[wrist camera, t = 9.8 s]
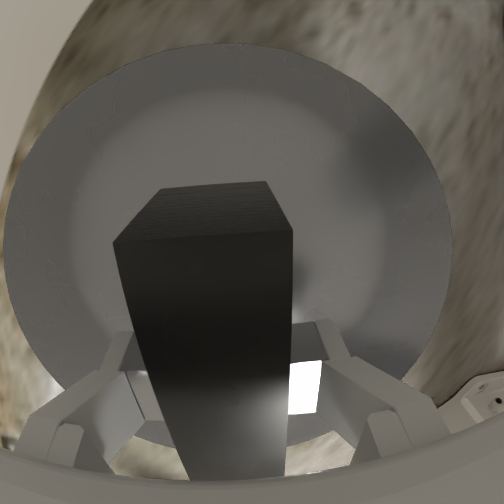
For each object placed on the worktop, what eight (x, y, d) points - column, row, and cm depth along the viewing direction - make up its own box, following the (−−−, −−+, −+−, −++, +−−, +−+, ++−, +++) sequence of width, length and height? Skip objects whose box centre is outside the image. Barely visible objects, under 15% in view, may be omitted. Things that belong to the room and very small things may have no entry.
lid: (433, 72, 9) (559, 68, 3) (385, 399, 14) (424, 485, 9) (4, 105, 8) (-115, 122, 3) (97, 417, 14) (71, 505, 9)
